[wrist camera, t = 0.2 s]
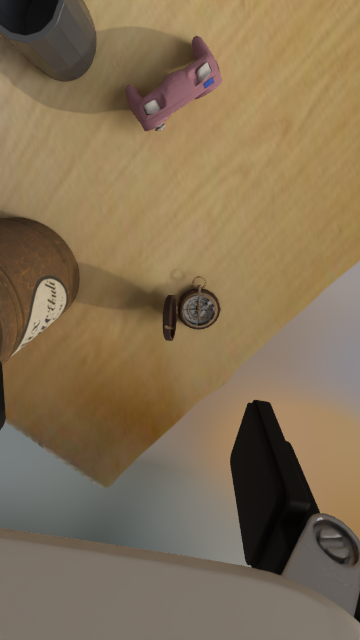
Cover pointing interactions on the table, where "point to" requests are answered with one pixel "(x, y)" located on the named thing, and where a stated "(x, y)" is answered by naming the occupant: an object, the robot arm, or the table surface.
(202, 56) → the video game controller
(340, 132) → the table surface
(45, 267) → the wooden container
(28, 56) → the pewter cup
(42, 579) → the robot arm
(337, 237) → the table surface
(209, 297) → the compass
